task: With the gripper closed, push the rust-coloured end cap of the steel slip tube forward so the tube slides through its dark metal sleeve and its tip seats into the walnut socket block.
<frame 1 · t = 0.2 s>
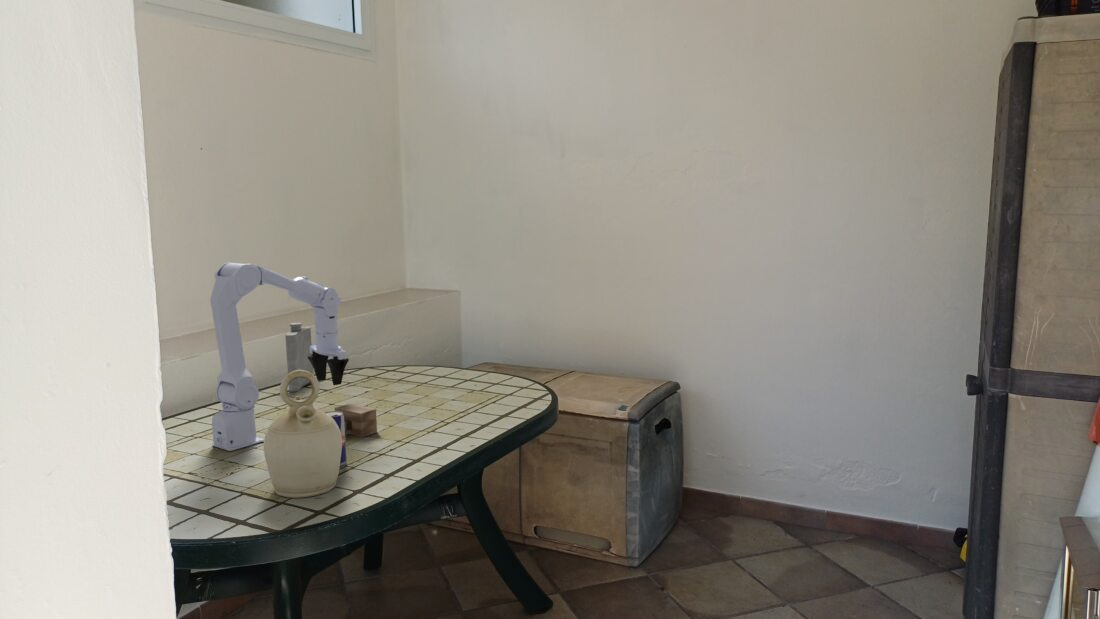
hand: (329, 382, 222), 10 cm above the table, fingers open, 7 cm apart
sleeve: (333, 438, 206), on the table
energy drink: (334, 467, 185), on the table
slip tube: (315, 432, 201), point 3 cm above the table, slide at 0.0 cm
hip flask: (300, 385, 263), on the table
jug: (306, 488, 172), on the table
socket block: (356, 431, 211), on the table
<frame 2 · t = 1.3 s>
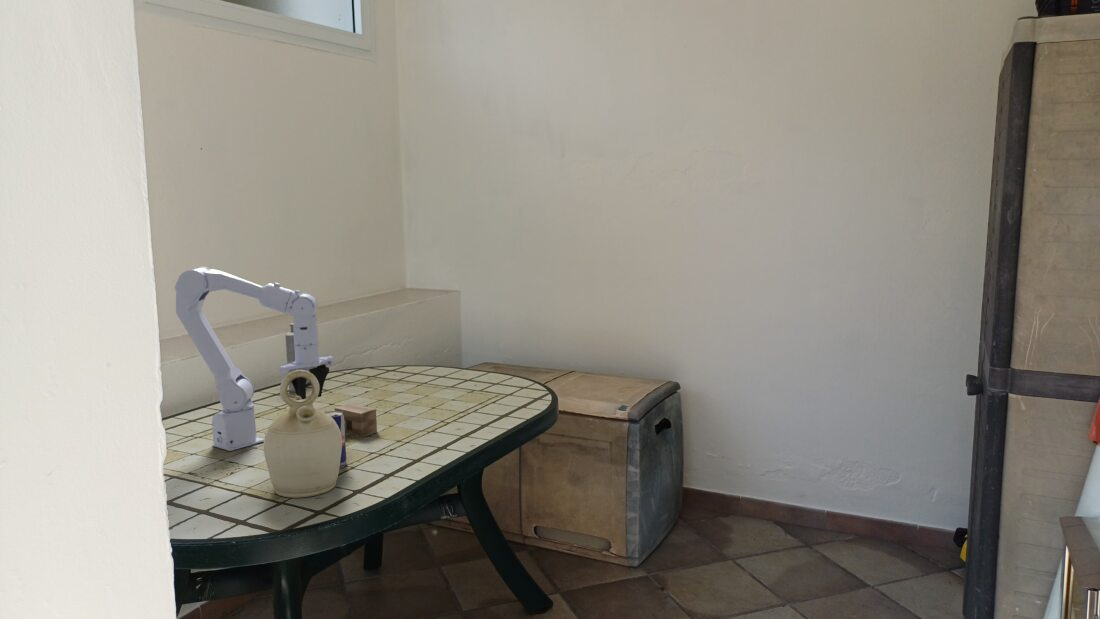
hand: (309, 398, 204), 10 cm above the table, fingers open, 4 cm apart
nothing on the table moved.
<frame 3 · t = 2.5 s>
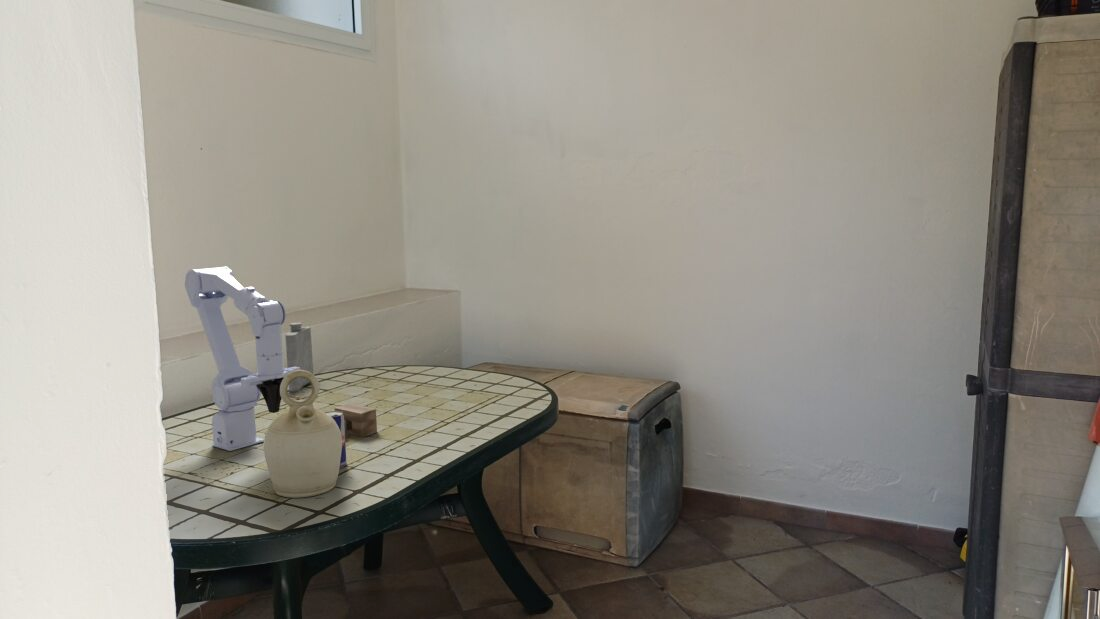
hand: (273, 411, 192), 10 cm above the table, fingers closed
nothing on the table moved.
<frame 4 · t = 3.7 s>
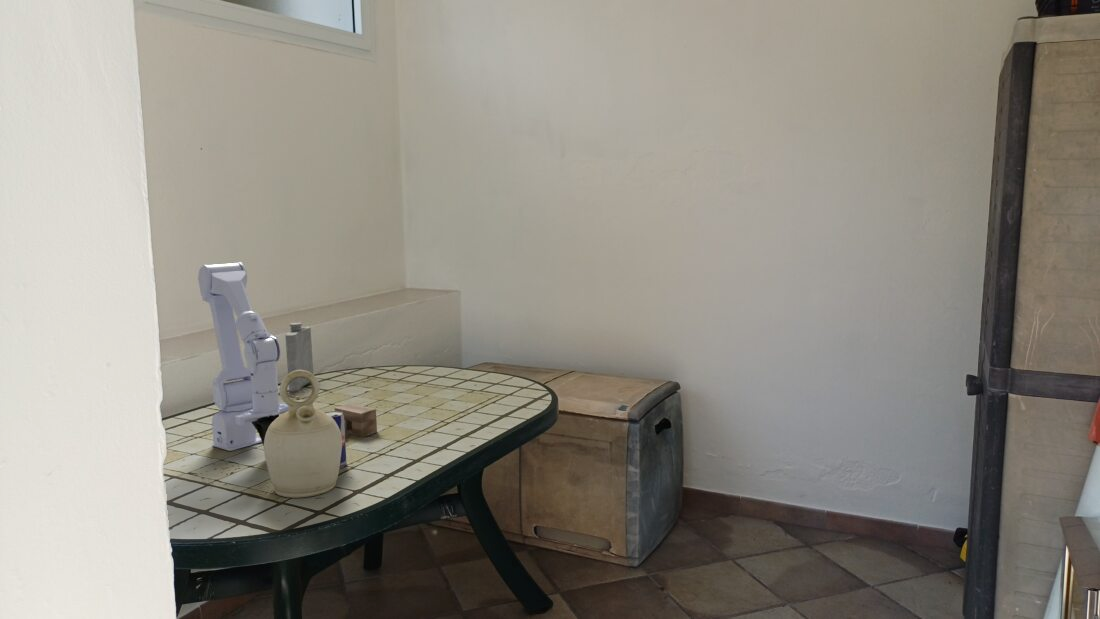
hand: (268, 448, 191), 2 cm above the table, fingers closed
nothing on the table moved.
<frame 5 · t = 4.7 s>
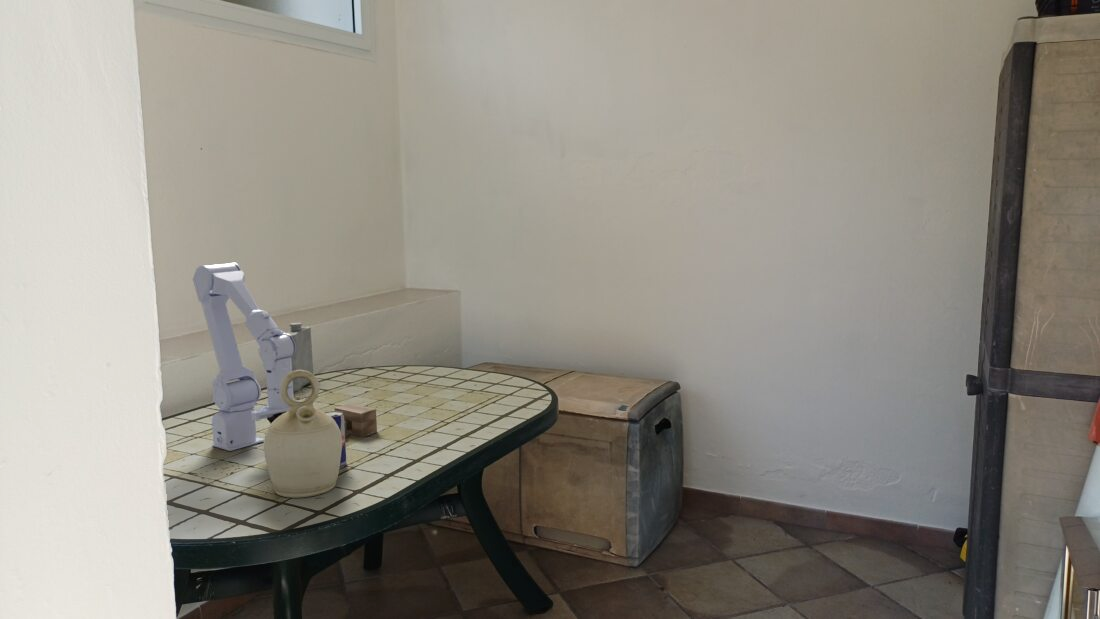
hand: (283, 443, 194), 2 cm above the table, fingers closed
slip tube: (317, 432, 201), point 3 cm above the table, slide at 0.6 cm, touching gripper
everything else where it was.
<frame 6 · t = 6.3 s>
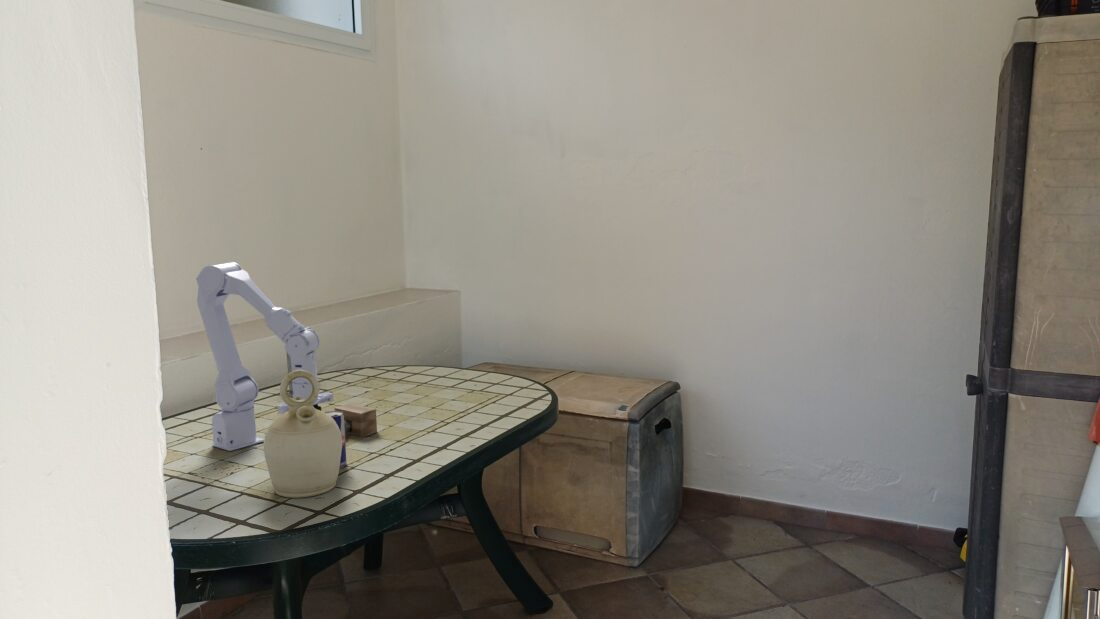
hand: (308, 436, 200), 2 cm above the table, fingers closed
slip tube: (339, 425, 207), point 3 cm above the table, slide at 7.5 cm, touching gripper
everything else where it was.
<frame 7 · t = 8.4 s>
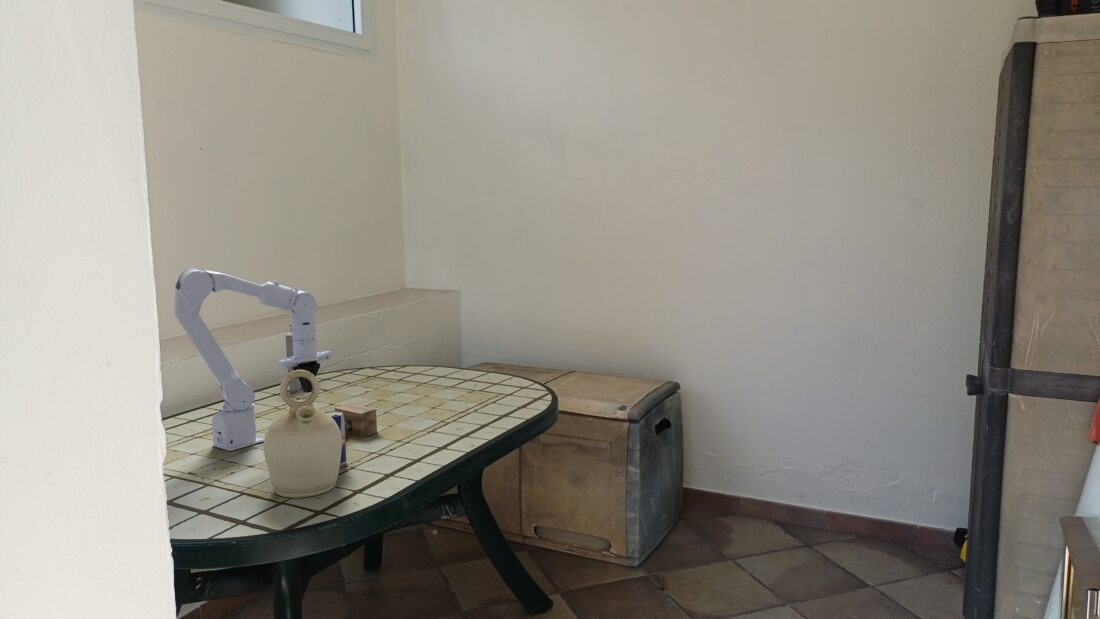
hand: (307, 391, 210), 10 cm above the table, fingers closed
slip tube: (339, 425, 207), point 3 cm above the table, slide at 7.5 cm
everything else where it was.
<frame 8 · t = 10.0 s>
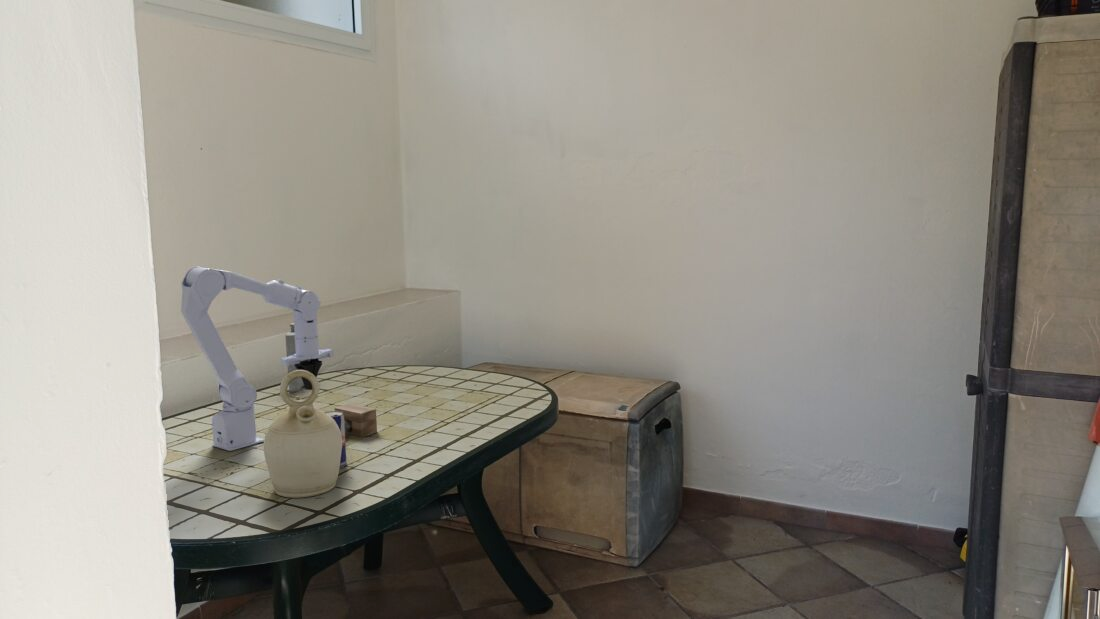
hand: (309, 388, 213), 10 cm above the table, fingers closed
nothing on the table moved.
at the end: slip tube slide at 7.5 cm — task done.
